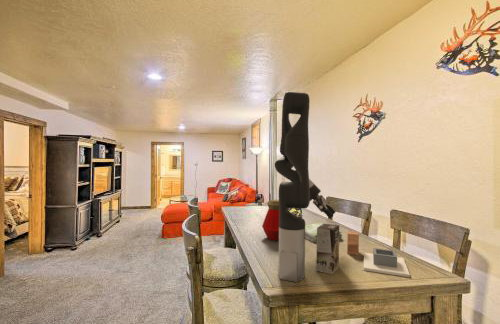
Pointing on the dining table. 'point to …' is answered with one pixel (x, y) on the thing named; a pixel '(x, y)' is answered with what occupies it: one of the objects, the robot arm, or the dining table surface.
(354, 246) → the peg
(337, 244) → the coffee box
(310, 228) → the towel
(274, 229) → the bottle
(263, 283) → the dining table surface
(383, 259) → the socket stand
